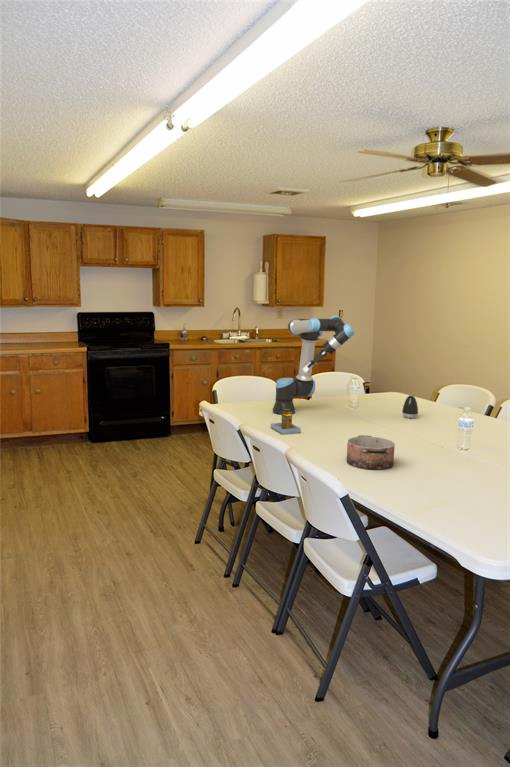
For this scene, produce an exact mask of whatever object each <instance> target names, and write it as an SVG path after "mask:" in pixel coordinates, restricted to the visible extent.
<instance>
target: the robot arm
mask: <svg viewBox="0 0 510 767" xmlns="http://www.w3.org/2000/svg"><path fill="white" fill-rule="evenodd" d="M287 331H288V333H289V334H290V335H292V336H294V337H299V338H300V340H301V341H302V343H301V350H300V351H301V352H300V359H299V367H298V374H297V375H296V376H295V379H294V378H293V377H283V378H278V379H277V380H276V382H275V383H276V384H275V402H274V405H273V407H272V413H273V412H274V413H273V414H275V413H278V414H277V415H281V414H282V413H283V409H291V410H292V411H291V412H292V413H294V414H296V408H295V404H294V402H293V401H294V398H305V397H306V398H307V397H311V396H313V394H314V393H315V390H316V381H315V380H314V378H313V376H312V373H313V372H312V371H313V366H315V365H316V364H318V363H320V362H319V361H320V360H321V359H323V358H324V357H326V356H328V353H329V354H330V355H333V354H334V353H335V352H336V351H337V350H338V349H341V348H342V345H344V344H345V343H346V342H347V341H348V340H349V339H351V338H352V337H353V336H354V334H356V330H355V329H354V328H353V326H351V325H350V323H345V322H344V321H343V319H342V318H341V317H340V316H339V315H333V316H331V317H330V318H315V317H313V318H294V319H292V320H290V321H289V323H288V324H287ZM323 332H335V334H333V335H332V336H331V337H329V339H327V340H328V341H326V342H324V343H323V345H322V346H323V348H324V349H321V350H320V352H319V353H317V355H316V357H315V356H314V355H315V347H316V343H317V342H318V340H319V338H320V337H322V335H323ZM292 413H291V414H292ZM292 415H293V414H292Z"/></svg>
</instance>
